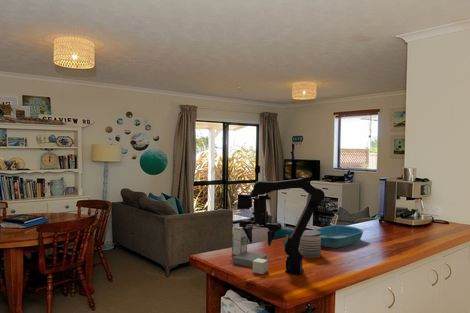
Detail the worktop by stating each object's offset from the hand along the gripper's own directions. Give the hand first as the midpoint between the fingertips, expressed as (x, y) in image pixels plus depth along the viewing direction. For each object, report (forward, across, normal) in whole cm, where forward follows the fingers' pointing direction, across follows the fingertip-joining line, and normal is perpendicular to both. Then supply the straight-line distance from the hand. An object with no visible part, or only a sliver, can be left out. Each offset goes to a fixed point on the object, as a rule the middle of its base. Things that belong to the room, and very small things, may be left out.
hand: (260, 244), depth 158 cm
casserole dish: (+13, -14, -71) cm, 73 cm away
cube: (+12, 0, 0) cm, 12 cm away
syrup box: (+12, +21, -17) cm, 30 cm away
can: (+12, -10, -37) cm, 40 cm away
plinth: (+12, +10, -8) cm, 17 cm away
